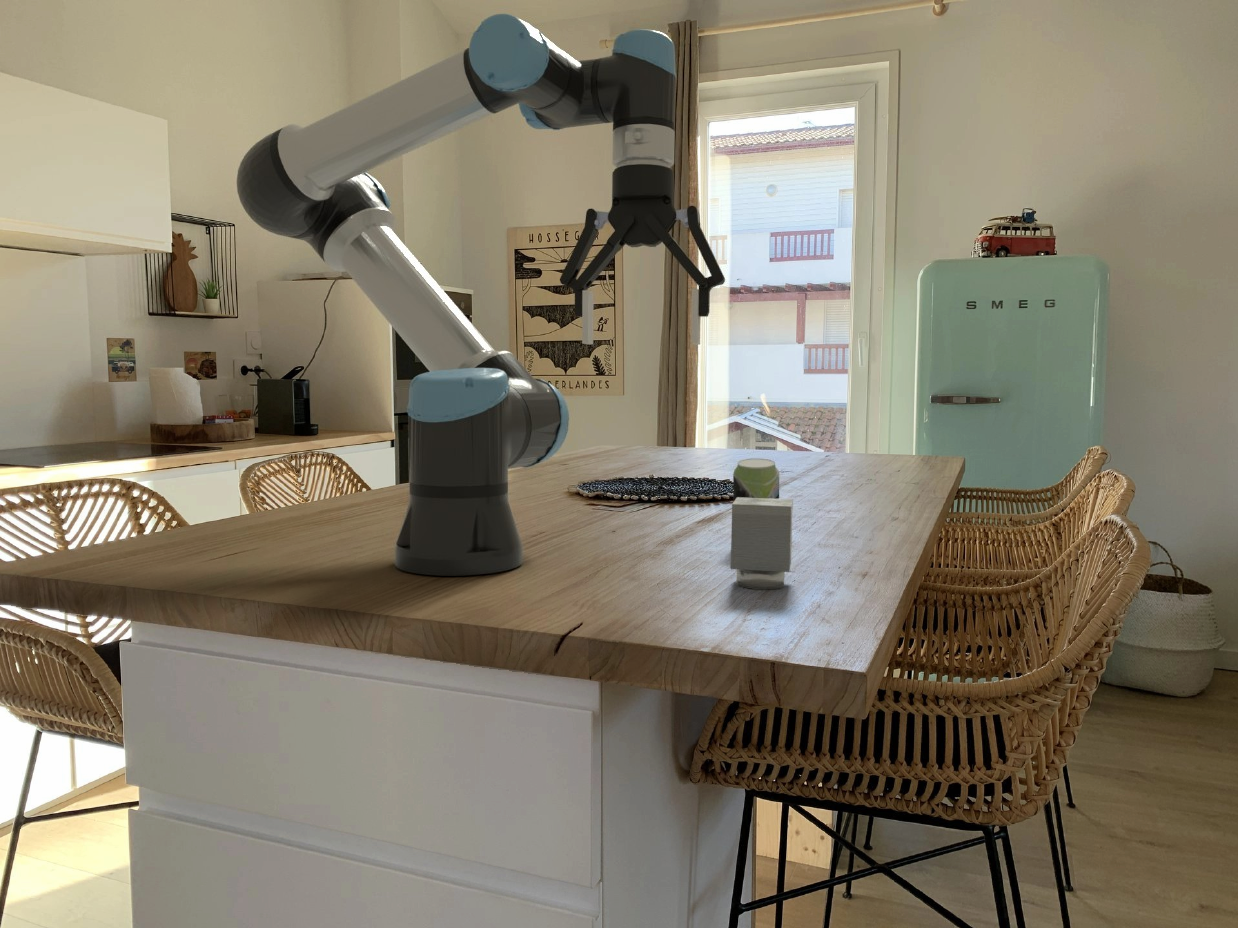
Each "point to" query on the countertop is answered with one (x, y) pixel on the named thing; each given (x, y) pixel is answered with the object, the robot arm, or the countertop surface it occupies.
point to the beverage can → (756, 479)
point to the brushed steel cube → (761, 534)
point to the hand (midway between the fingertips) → (641, 344)
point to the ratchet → (760, 579)
